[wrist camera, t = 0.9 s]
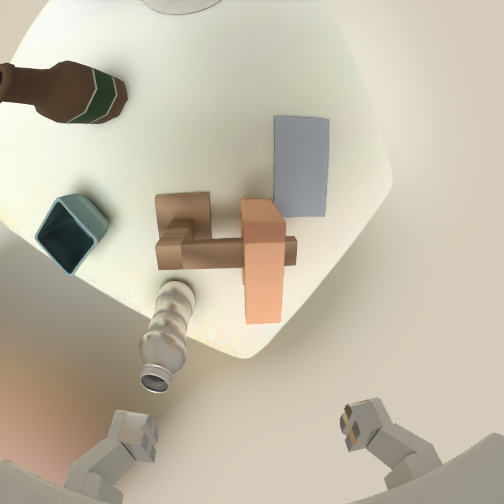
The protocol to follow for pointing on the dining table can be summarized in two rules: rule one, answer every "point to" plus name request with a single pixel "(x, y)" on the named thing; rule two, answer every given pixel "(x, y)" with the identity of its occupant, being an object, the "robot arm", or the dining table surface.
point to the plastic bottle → (166, 336)
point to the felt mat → (300, 165)
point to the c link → (262, 260)
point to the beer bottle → (64, 92)
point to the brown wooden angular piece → (198, 236)
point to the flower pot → (71, 231)
